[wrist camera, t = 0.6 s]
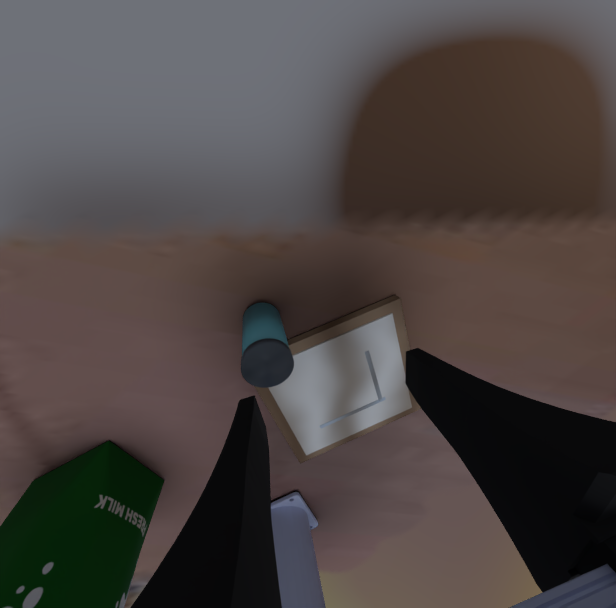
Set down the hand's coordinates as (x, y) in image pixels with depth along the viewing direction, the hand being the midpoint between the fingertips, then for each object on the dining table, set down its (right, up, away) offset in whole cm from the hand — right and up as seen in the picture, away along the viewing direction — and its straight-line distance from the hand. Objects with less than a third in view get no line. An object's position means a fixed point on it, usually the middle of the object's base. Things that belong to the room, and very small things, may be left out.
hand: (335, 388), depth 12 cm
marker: (-5, +3, +8) cm, 10 cm away
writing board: (+2, -4, +13) cm, 14 cm away
